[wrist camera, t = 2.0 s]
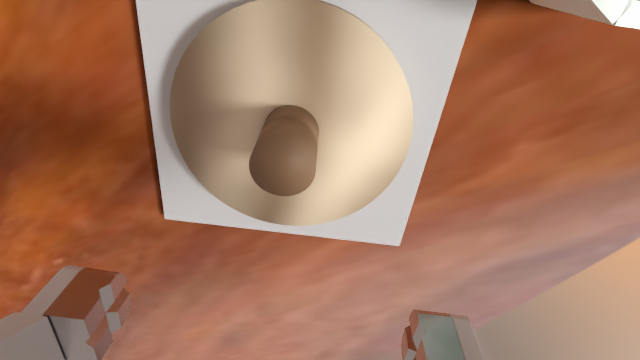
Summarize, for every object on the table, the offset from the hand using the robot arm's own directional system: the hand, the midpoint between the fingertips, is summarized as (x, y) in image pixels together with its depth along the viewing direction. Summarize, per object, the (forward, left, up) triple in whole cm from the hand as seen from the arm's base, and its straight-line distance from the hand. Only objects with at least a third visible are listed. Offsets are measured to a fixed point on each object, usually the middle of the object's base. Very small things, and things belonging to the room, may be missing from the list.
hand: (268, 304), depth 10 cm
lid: (-1, 0, -12) cm, 12 cm away
